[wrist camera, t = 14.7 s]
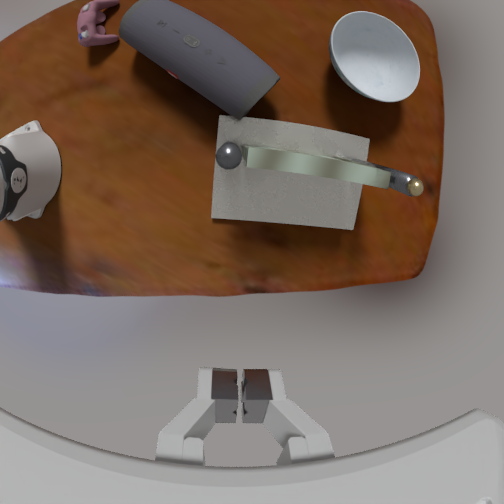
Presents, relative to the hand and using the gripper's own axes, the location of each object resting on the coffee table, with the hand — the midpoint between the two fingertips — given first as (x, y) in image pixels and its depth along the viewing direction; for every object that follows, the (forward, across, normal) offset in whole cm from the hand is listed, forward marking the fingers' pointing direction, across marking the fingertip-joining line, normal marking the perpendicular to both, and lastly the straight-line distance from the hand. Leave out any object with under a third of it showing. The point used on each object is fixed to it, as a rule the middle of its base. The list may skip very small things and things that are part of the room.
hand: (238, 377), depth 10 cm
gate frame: (+35, +9, +4) cm, 36 cm away
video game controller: (+36, -25, +30) cm, 52 cm away
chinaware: (+35, +18, +25) cm, 47 cm away
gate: (+33, +9, +7) cm, 35 cm away
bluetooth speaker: (+35, -7, +21) cm, 42 cm away
